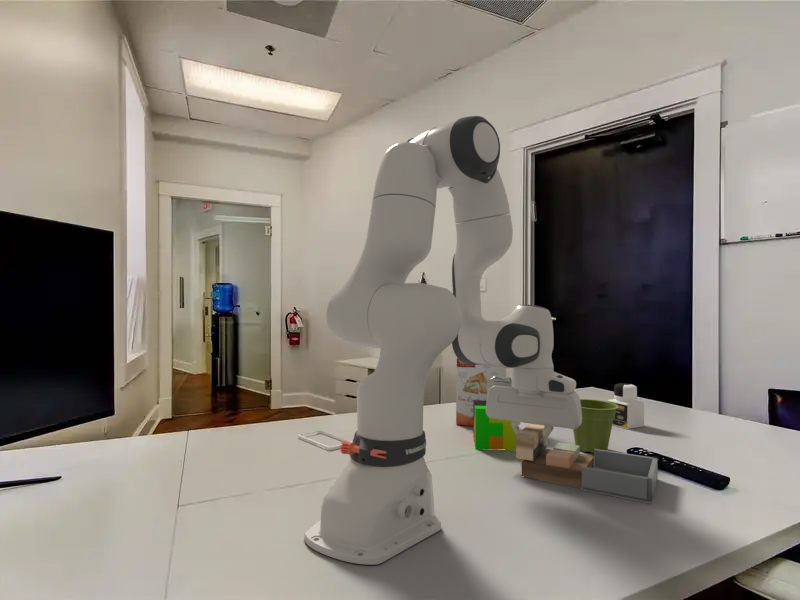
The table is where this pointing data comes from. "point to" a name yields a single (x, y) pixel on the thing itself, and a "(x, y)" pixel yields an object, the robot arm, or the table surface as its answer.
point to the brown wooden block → (557, 470)
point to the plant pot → (595, 425)
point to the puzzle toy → (491, 430)
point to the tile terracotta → (560, 458)
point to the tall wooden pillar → (530, 442)
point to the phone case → (320, 443)
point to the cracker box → (472, 388)
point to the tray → (621, 475)
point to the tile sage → (568, 449)
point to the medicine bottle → (627, 407)
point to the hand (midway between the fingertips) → (532, 443)
